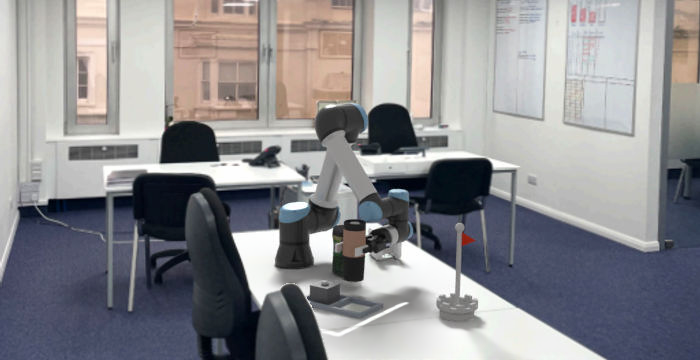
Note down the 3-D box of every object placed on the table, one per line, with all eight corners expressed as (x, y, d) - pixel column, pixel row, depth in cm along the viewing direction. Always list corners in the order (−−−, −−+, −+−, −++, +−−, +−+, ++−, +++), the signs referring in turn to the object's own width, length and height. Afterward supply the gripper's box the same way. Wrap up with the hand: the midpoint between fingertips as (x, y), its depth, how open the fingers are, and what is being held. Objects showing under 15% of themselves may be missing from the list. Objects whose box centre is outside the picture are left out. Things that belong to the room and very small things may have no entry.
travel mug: (341, 275, 279) (342, 218, 275) (363, 275, 280) (365, 219, 276) (342, 282, 272) (344, 224, 268) (365, 282, 272) (367, 224, 269)
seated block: (309, 302, 265) (309, 282, 264) (322, 297, 271) (322, 277, 270) (327, 306, 261) (327, 285, 260) (339, 301, 267) (339, 280, 266)
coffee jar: (361, 275, 300) (362, 226, 297) (344, 279, 295) (345, 229, 292) (344, 269, 308) (345, 221, 305) (328, 273, 303) (328, 224, 300)
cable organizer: (402, 261, 321) (403, 232, 319) (376, 262, 319) (377, 233, 317) (391, 251, 335) (391, 224, 334) (366, 253, 333) (366, 225, 331)
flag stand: (431, 319, 254) (434, 225, 249) (441, 306, 266) (444, 217, 261) (472, 324, 249) (476, 229, 244) (481, 311, 261) (485, 220, 256)
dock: (296, 306, 265) (296, 298, 264) (320, 296, 275) (321, 289, 275) (360, 321, 250) (360, 314, 250) (383, 310, 261) (383, 303, 261)
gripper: (407, 252, 283) (370, 267, 265) (359, 242, 295) (321, 255, 276) (408, 231, 282) (371, 244, 263) (359, 222, 293) (321, 234, 275)
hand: (345, 250), depth 270 cm, fingers closed on travel mug, 7 cm apart
